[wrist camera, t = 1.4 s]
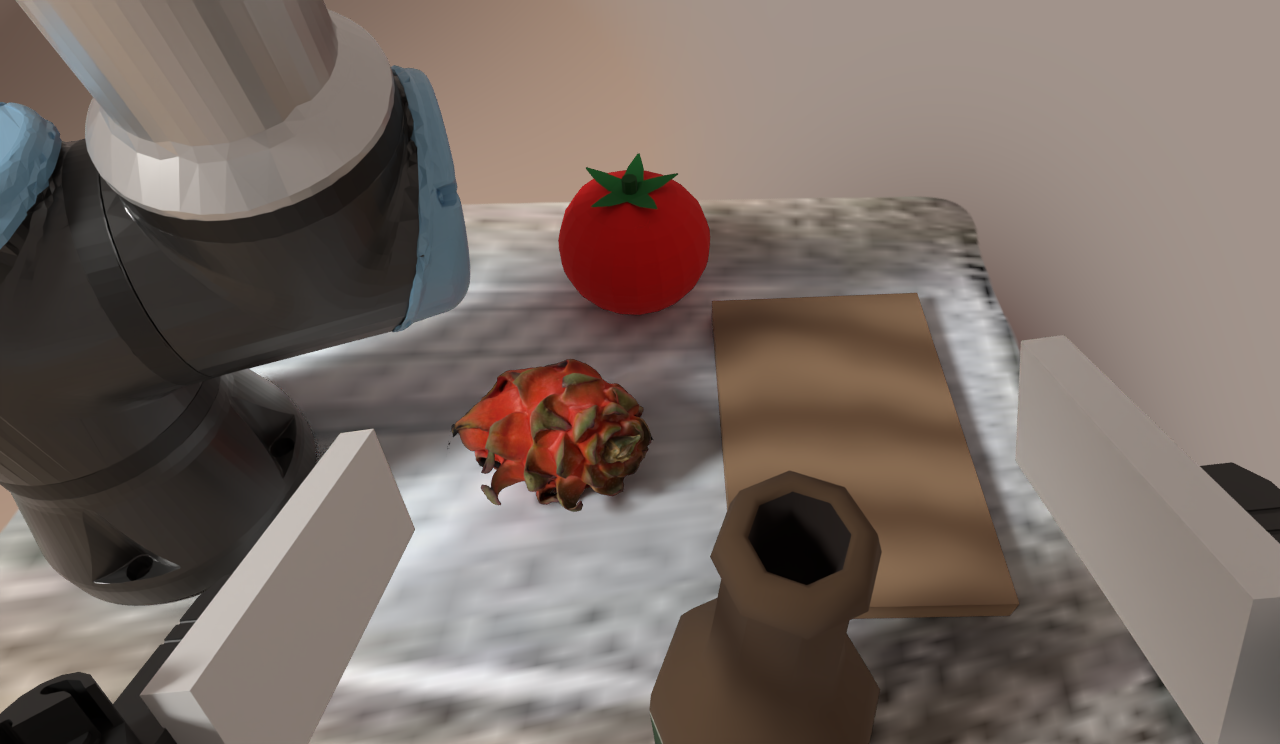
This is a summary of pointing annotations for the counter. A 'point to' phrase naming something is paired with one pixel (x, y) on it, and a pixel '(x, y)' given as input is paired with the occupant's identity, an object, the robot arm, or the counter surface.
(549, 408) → the dragon fruit
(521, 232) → the counter surface
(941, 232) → the counter surface
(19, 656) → the counter surface
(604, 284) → the tomato
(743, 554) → the beer bottle
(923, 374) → the wooden cutting board
